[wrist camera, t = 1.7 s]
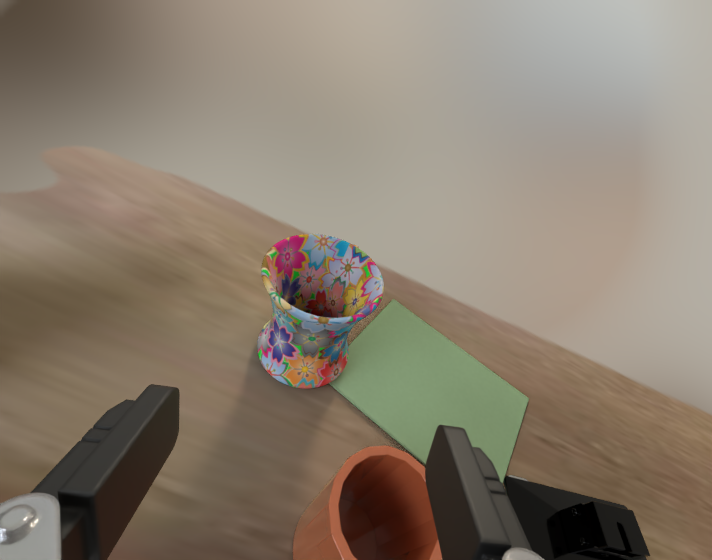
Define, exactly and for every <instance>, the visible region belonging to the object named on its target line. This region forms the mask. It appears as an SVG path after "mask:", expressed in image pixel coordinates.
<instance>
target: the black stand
mask: <svg viewBox="0 0 712 560" xmlns="http://www.w3.org/2000/svg"><path fill="white" fill-rule="evenodd" d="M504 484H505V490H506V496H508V498H509V500H510V502H511V504H512V507H513V509H514V511H515V513H516V515H517V518H518V520H519V522H520V524H521V527H522V529H523V531H524V533H525V536H526V538H527V540H528V542H529V544H530V547H531V549H532V551H533V552H535V553H536V554H538V555H539V556H541V557H542V558H543V559H545V560H646V556H650V554H649V552H648V549H647V546H646V544H645V541H644V539H643V536H642V534H641V531H640V528H639V526H638V523H637V521H636V518H635V516H634V513H633V511H632V510H628V509H627V508H626V507H625V506H624V505H620V504H616V503H612V502H608V501H604V500H600V499H596V498H592V497H588V496H584V495H580V494H576V493H572V492H568V491H564V490H560V489H556V488H553V487H549V486H545V485H541V484H537V483H533V482H529V481H527V480H526V479H524V478H520V477H516V476H512V475H509V476H506V477H504Z"/></svg>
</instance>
